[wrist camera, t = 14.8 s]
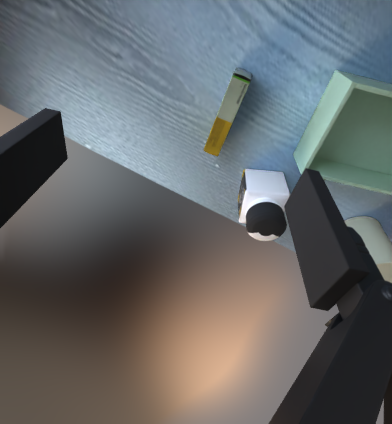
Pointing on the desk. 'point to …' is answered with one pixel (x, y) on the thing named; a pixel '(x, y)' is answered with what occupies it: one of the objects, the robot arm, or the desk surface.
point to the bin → (351, 134)
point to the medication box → (228, 110)
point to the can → (374, 243)
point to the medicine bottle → (263, 203)
